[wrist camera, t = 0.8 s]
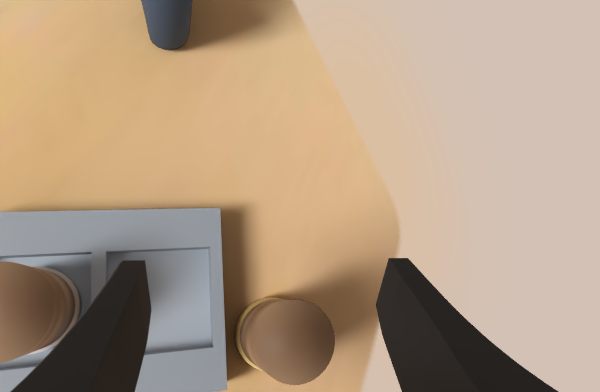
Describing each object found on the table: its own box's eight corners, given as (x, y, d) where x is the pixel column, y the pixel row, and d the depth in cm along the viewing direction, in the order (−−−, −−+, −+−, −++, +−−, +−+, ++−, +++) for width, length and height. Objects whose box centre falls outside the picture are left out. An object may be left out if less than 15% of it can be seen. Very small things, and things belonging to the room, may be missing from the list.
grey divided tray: (222, 382, 26) (227, 389, 24) (-40, 417, 22) (-60, 429, 20) (216, 214, 28) (220, 207, 26) (-25, 220, 25) (-42, 212, 22)
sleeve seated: (80, 347, 24) (55, 362, 18) (-14, 357, 23) (-73, 375, 17) (82, 265, 25) (59, 255, 19) (-9, 270, 23) (-62, 260, 18)
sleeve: (305, 365, 28) (341, 381, 22) (236, 374, 27) (255, 394, 21) (300, 294, 29) (333, 293, 23) (233, 300, 28) (251, 300, 22)
